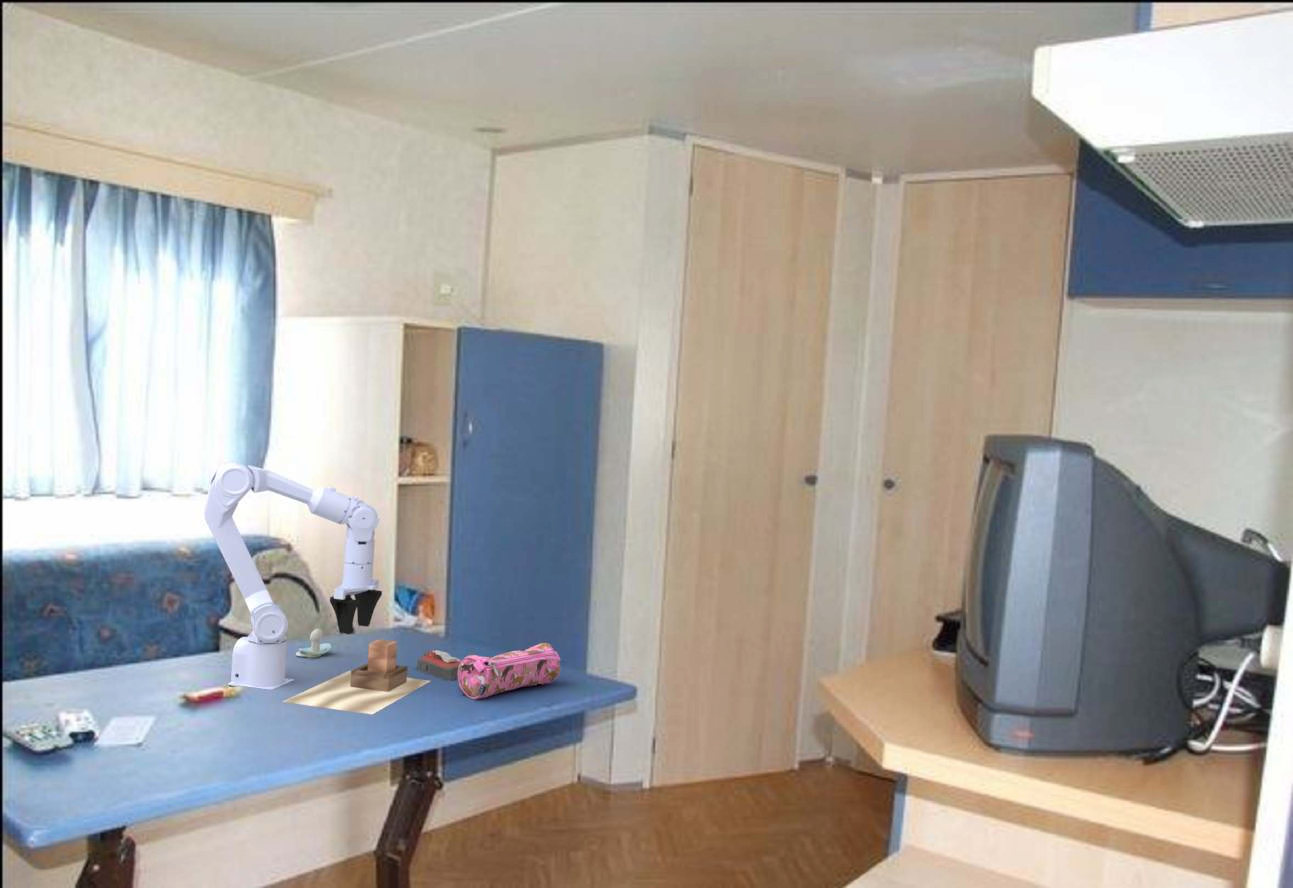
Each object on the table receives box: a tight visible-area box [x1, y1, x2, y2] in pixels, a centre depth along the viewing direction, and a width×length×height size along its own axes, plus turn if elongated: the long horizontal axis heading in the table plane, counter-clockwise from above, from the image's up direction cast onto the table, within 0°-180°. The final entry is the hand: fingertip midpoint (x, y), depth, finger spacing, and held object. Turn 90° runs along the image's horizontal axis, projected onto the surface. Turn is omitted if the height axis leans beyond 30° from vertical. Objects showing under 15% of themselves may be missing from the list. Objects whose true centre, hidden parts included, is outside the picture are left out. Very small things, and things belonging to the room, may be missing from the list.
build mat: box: [282, 662, 432, 715], centre depth 197 cm, size 18×25×4 cm
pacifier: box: [295, 628, 332, 658], centre depth 223 cm, size 7×6×6 cm
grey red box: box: [416, 649, 461, 681], centre depth 219 cm, size 9×4×20 cm
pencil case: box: [457, 642, 561, 701], centre depth 206 cm, size 21×9×9 cm, turn 138°
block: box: [367, 639, 398, 674], centre depth 202 cm, size 4×4×6 cm
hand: (354, 629), depth 205 cm, fingers open, 7 cm apart
